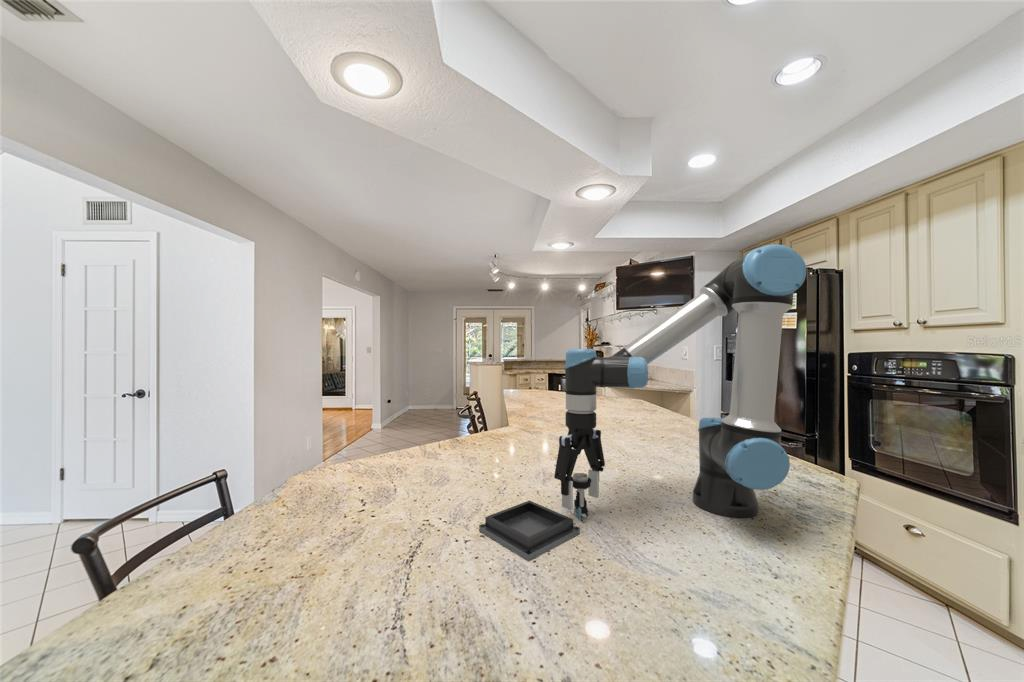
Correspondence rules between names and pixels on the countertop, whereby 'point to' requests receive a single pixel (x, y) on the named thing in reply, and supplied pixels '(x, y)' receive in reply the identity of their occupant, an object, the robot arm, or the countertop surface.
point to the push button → (580, 494)
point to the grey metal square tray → (529, 529)
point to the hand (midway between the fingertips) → (581, 501)
